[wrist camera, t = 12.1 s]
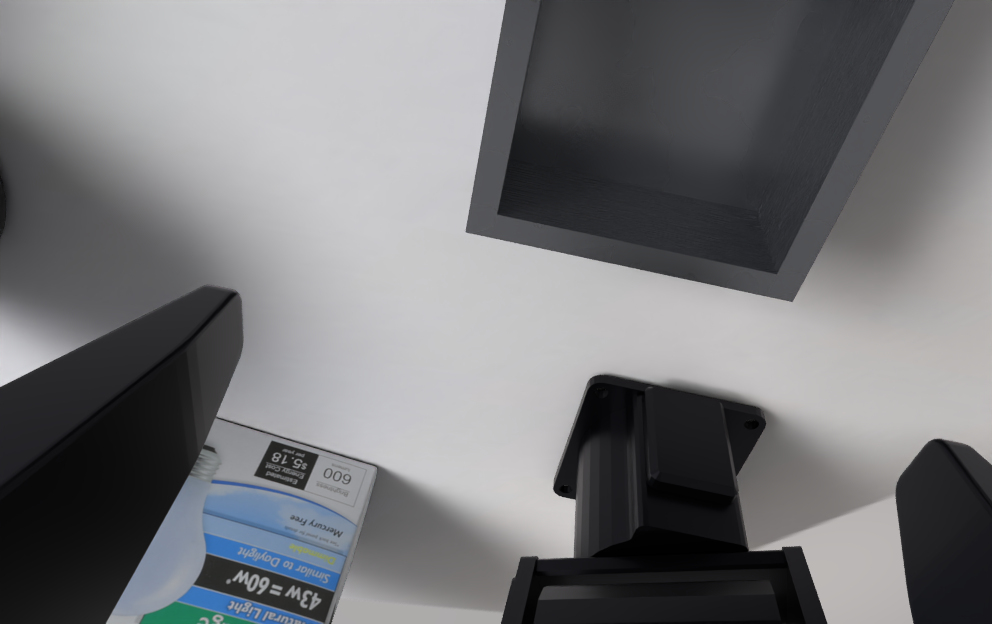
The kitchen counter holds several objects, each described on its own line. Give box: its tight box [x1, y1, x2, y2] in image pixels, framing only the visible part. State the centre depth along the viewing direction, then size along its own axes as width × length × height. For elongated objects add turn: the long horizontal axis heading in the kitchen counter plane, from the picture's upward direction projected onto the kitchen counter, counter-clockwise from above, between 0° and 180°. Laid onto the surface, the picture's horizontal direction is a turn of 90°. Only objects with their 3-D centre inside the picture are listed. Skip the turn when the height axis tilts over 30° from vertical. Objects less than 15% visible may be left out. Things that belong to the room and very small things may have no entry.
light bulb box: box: [106, 418, 377, 624], centre depth 28 cm, size 11×7×11 cm, turn 73°
